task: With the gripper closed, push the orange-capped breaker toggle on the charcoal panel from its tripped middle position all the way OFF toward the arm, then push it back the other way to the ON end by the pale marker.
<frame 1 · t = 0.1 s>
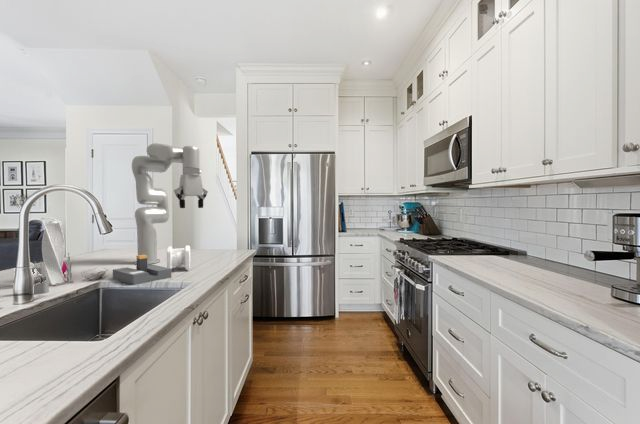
hand: (191, 207, 153), 31 cm above the worktop, tool pointing down, fingers open, 9 cm apart
cable organizer: (179, 270, 161), on the worktop
breaker panel: (142, 277, 142), on the worktop
power adapter: (38, 293, 119), on the worktop
pepper mill: (56, 279, 141), on the worktop
skyscraper: (55, 284, 132), on the worktop
breaker toggle: (141, 264, 142), point 6 cm above the worktop, slide at 5.0 cm
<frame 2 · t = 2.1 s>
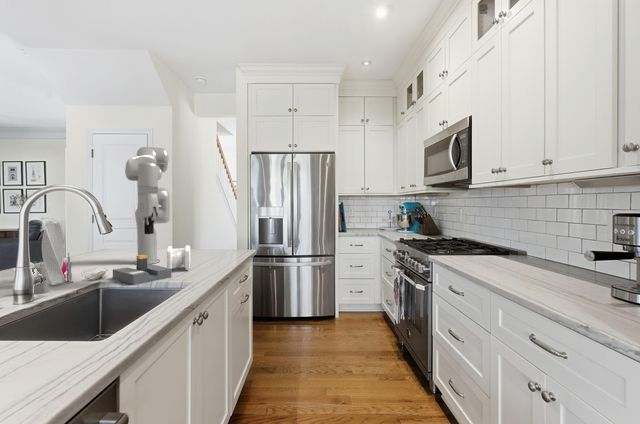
hand: (149, 233, 137), 20 cm above the worktop, tool pointing down, fingers closed
nothing on the worktop moved.
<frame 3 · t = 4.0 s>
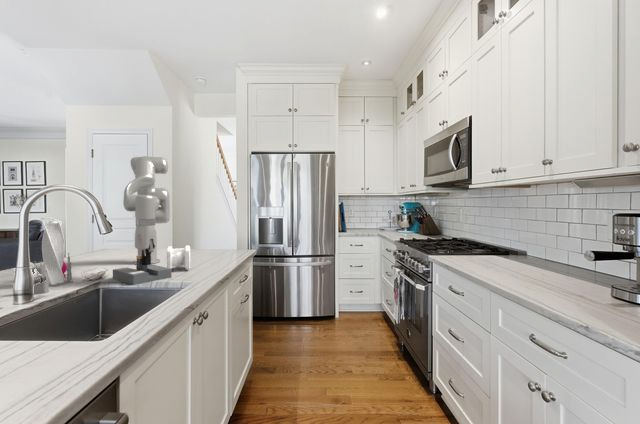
hand: (146, 264, 140), 6 cm above the worktop, tool pointing down, fingers closed
breaker toggle: (141, 264, 142), point 6 cm above the worktop, slide at 5.0 cm, touching gripper
everything else where it was.
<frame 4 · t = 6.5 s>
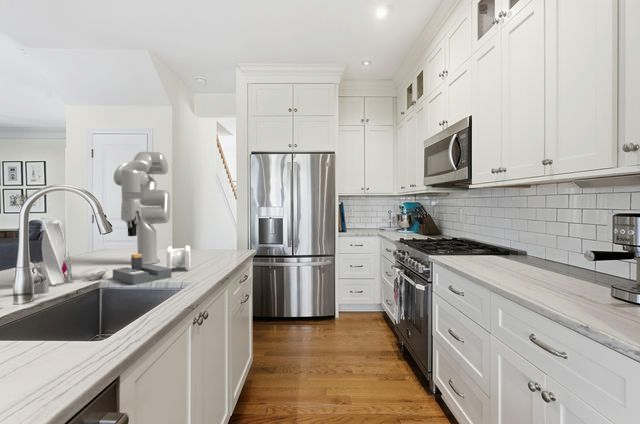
hand: (132, 235, 147), 18 cm above the worktop, tool pointing down, fingers closed
breaker toggle: (136, 263, 145), point 6 cm above the worktop, slide at 0.0 cm
everything else where it was.
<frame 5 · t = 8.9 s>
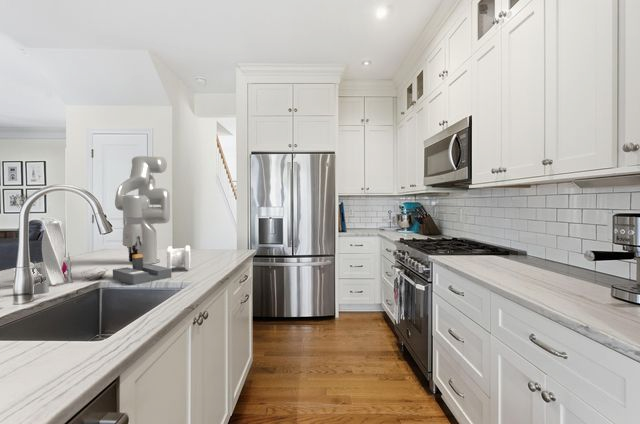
hand: (133, 261, 147), 7 cm above the worktop, tool pointing down, fingers closed
breaker toggle: (137, 263, 144), point 6 cm above the worktop, slide at 1.0 cm, touching gripper
everything else where it was.
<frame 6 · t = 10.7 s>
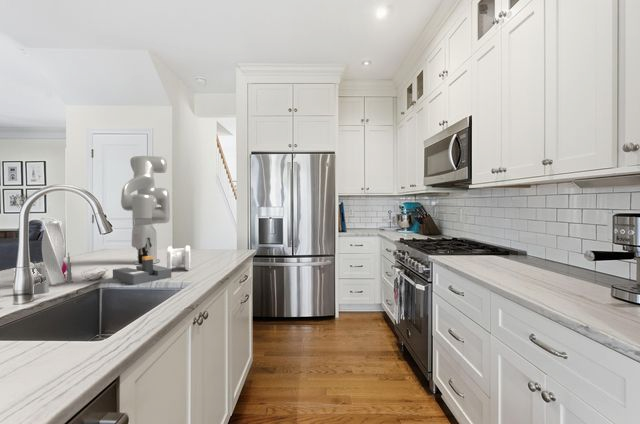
hand: (143, 263, 141), 7 cm above the worktop, tool pointing down, fingers closed
breaker toggle: (147, 265, 139), point 6 cm above the worktop, slide at 10.1 cm, touching gripper
everything else where it was.
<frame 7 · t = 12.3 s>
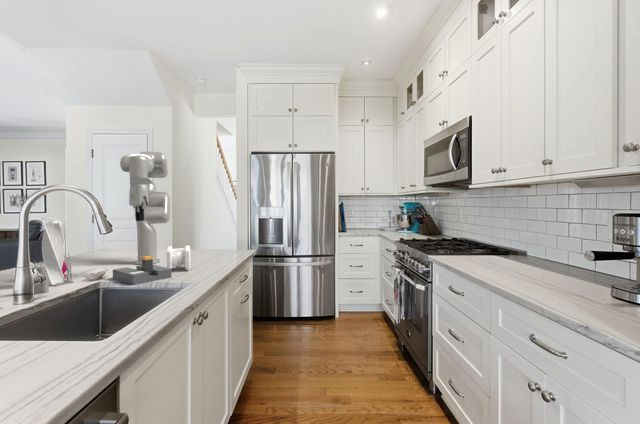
hand: (139, 220, 152), 25 cm above the worktop, tool pointing down, fingers closed
breaker toggle: (147, 265, 139), point 6 cm above the worktop, slide at 10.0 cm
everything else where it was.
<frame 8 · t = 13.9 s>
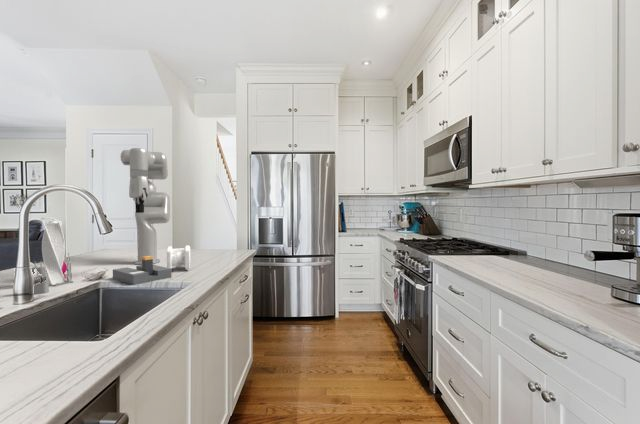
hand: (139, 212, 153), 29 cm above the worktop, tool pointing down, fingers closed
nothing on the worktop moved.
at the end: breaker toggle slide at 10.0 cm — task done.
